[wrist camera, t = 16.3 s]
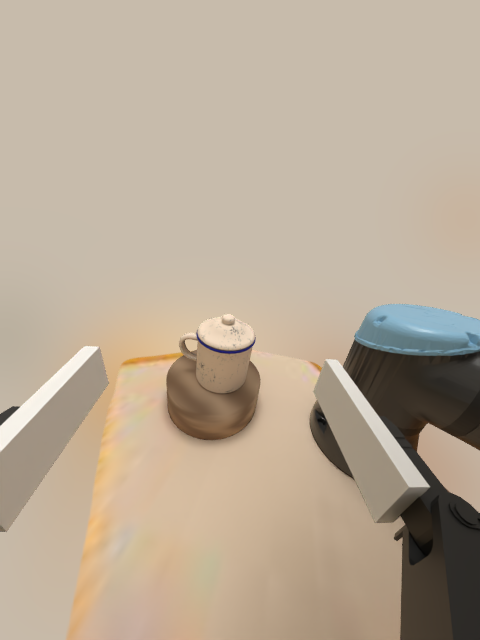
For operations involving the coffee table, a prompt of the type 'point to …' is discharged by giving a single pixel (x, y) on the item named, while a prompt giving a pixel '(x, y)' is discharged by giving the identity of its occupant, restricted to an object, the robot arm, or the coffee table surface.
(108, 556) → the coffee table surface
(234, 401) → the walnut riser
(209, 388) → the teacup with lid
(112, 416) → the coffee table surface
